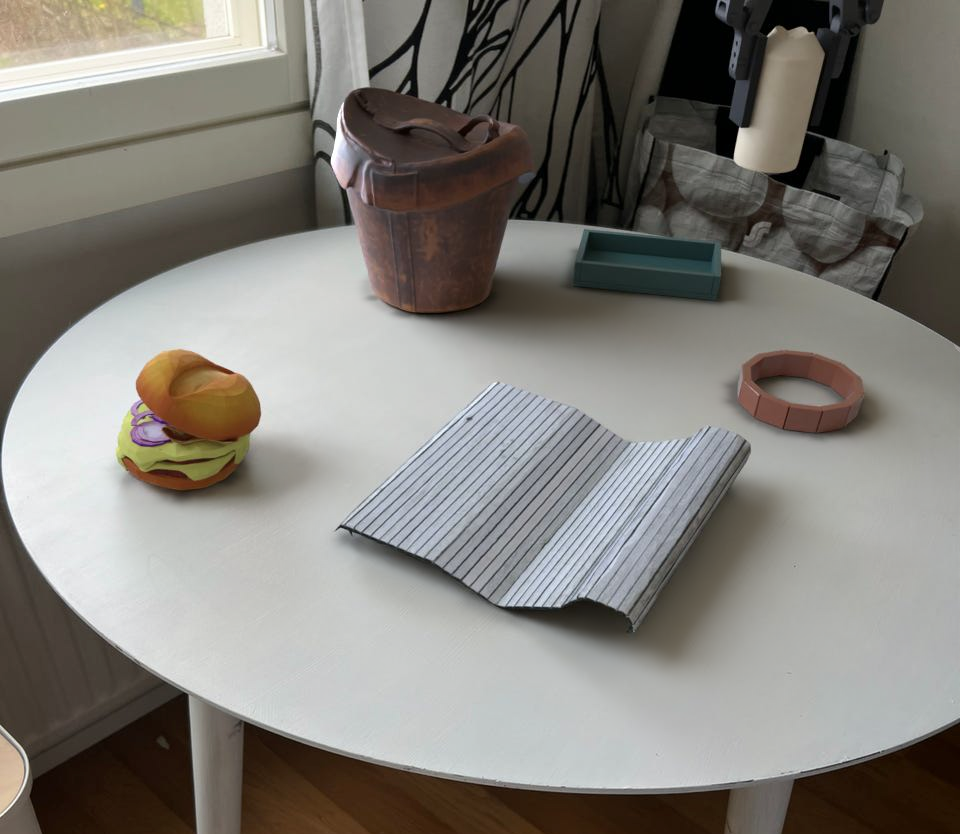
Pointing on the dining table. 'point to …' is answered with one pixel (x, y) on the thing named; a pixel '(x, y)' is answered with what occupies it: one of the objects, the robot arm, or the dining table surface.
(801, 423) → the faceted band ring
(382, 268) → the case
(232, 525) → the dining table surface
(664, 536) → the mat
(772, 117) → the candle
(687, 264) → the tray
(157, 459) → the cheeseburger
